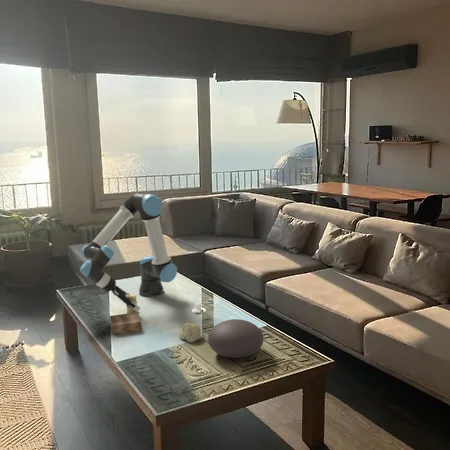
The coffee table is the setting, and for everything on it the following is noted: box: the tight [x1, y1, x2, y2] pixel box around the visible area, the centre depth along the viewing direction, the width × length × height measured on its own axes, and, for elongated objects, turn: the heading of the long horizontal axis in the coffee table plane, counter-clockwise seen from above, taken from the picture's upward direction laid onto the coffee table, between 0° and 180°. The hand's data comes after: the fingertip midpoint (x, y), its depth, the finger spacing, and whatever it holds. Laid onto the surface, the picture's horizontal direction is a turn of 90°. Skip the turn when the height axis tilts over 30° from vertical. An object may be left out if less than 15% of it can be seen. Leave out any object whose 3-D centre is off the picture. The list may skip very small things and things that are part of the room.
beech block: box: [126, 292, 138, 314], centre depth 271 cm, size 5×5×11 cm
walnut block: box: [109, 312, 143, 336], centre depth 253 cm, size 14×14×5 cm
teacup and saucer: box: [191, 302, 207, 314], centre depth 275 cm, size 9×8×4 cm
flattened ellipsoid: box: [207, 318, 264, 359], centre depth 220 cm, size 25×25×15 cm
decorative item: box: [178, 322, 202, 343], centre depth 240 cm, size 12×9×10 cm
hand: (137, 306), depth 273 cm, fingers open, 9 cm apart
